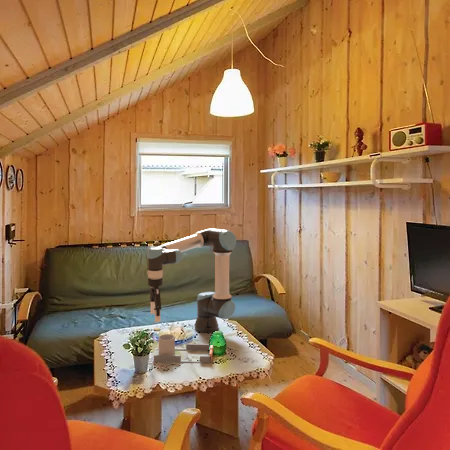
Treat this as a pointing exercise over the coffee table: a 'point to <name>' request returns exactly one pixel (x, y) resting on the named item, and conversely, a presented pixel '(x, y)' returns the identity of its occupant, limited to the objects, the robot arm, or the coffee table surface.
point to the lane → (188, 347)
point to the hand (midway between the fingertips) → (155, 317)
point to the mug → (167, 344)
